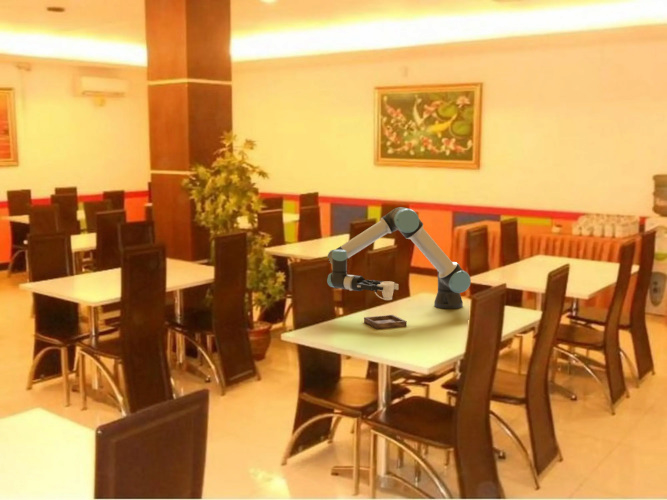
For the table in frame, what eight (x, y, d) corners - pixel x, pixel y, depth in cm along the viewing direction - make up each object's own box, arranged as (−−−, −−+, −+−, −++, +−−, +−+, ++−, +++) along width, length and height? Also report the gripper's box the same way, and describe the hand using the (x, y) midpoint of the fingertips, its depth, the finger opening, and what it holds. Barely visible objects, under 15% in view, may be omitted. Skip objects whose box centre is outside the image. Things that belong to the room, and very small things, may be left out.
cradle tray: (392, 319, 353) (392, 314, 353) (406, 326, 339) (406, 321, 339) (364, 322, 348) (364, 317, 348) (377, 329, 334) (377, 324, 333)
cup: (392, 301, 337) (392, 284, 336) (372, 300, 341) (372, 283, 340) (396, 297, 344) (396, 281, 342) (377, 296, 347) (376, 280, 346)
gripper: (366, 287, 361) (404, 292, 346) (342, 293, 345) (382, 299, 331) (366, 272, 360) (405, 277, 346) (342, 278, 344) (382, 283, 330)
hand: (393, 287), depth 338 cm, fingers closed on cup, 7 cm apart
